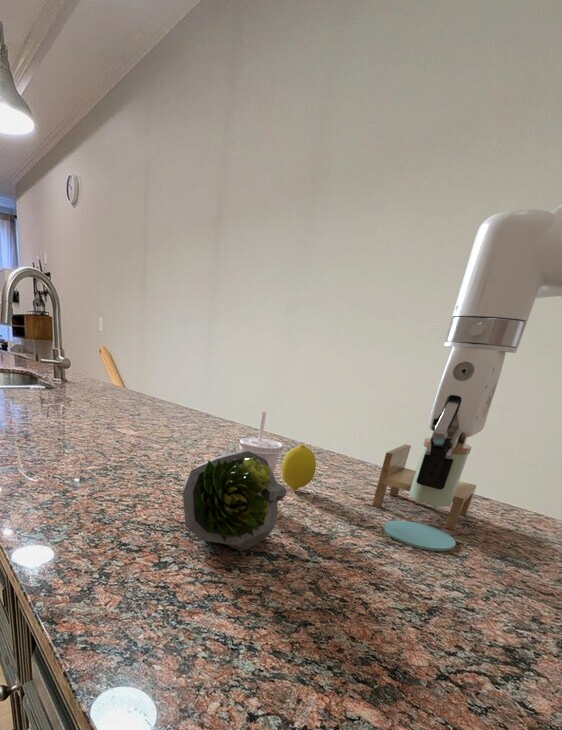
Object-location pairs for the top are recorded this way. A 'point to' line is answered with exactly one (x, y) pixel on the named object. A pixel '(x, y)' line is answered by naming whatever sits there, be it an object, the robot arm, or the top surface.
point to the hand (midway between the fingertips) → (435, 480)
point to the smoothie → (263, 446)
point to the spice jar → (447, 493)
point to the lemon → (298, 467)
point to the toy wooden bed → (403, 479)
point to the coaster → (420, 535)
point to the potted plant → (232, 500)
